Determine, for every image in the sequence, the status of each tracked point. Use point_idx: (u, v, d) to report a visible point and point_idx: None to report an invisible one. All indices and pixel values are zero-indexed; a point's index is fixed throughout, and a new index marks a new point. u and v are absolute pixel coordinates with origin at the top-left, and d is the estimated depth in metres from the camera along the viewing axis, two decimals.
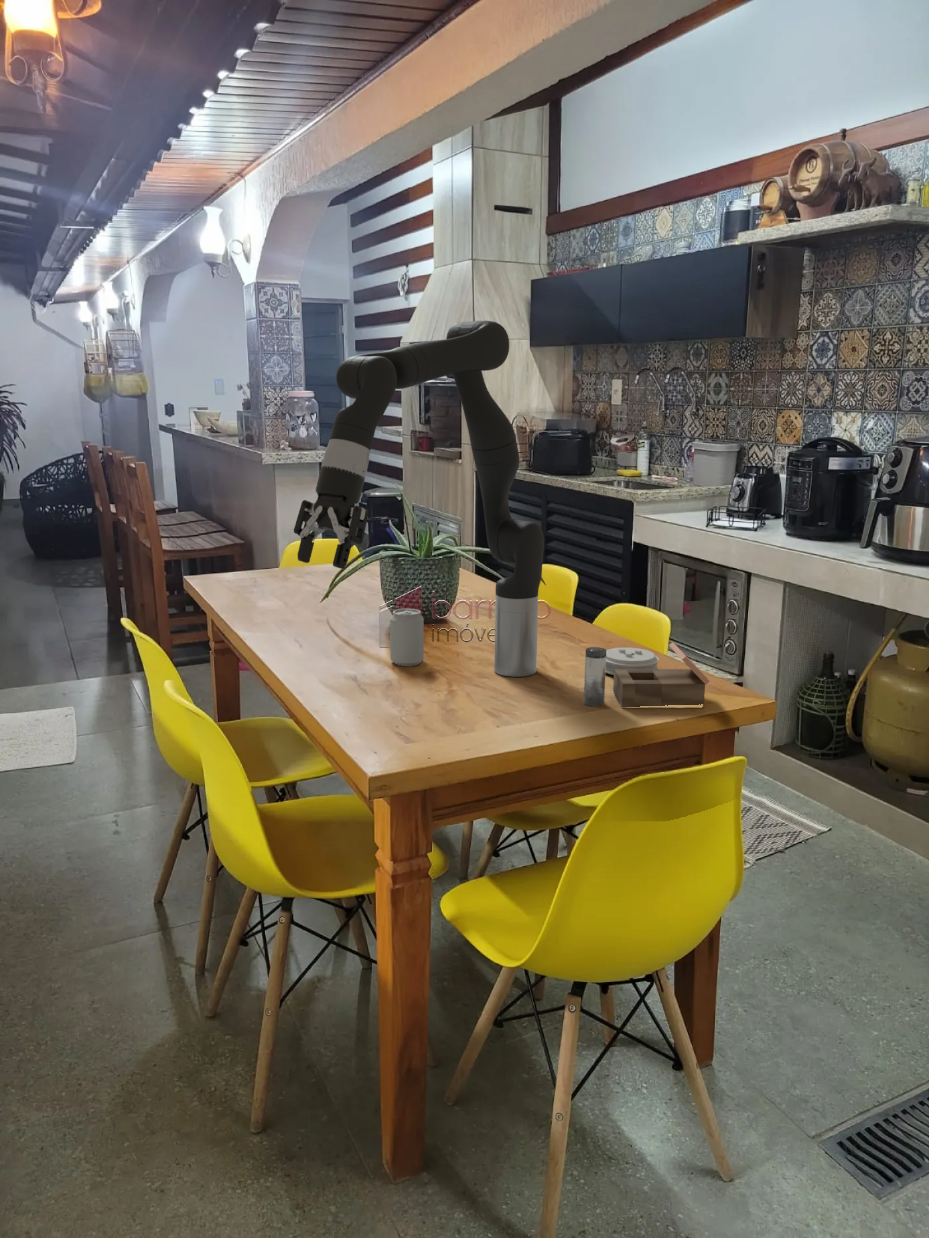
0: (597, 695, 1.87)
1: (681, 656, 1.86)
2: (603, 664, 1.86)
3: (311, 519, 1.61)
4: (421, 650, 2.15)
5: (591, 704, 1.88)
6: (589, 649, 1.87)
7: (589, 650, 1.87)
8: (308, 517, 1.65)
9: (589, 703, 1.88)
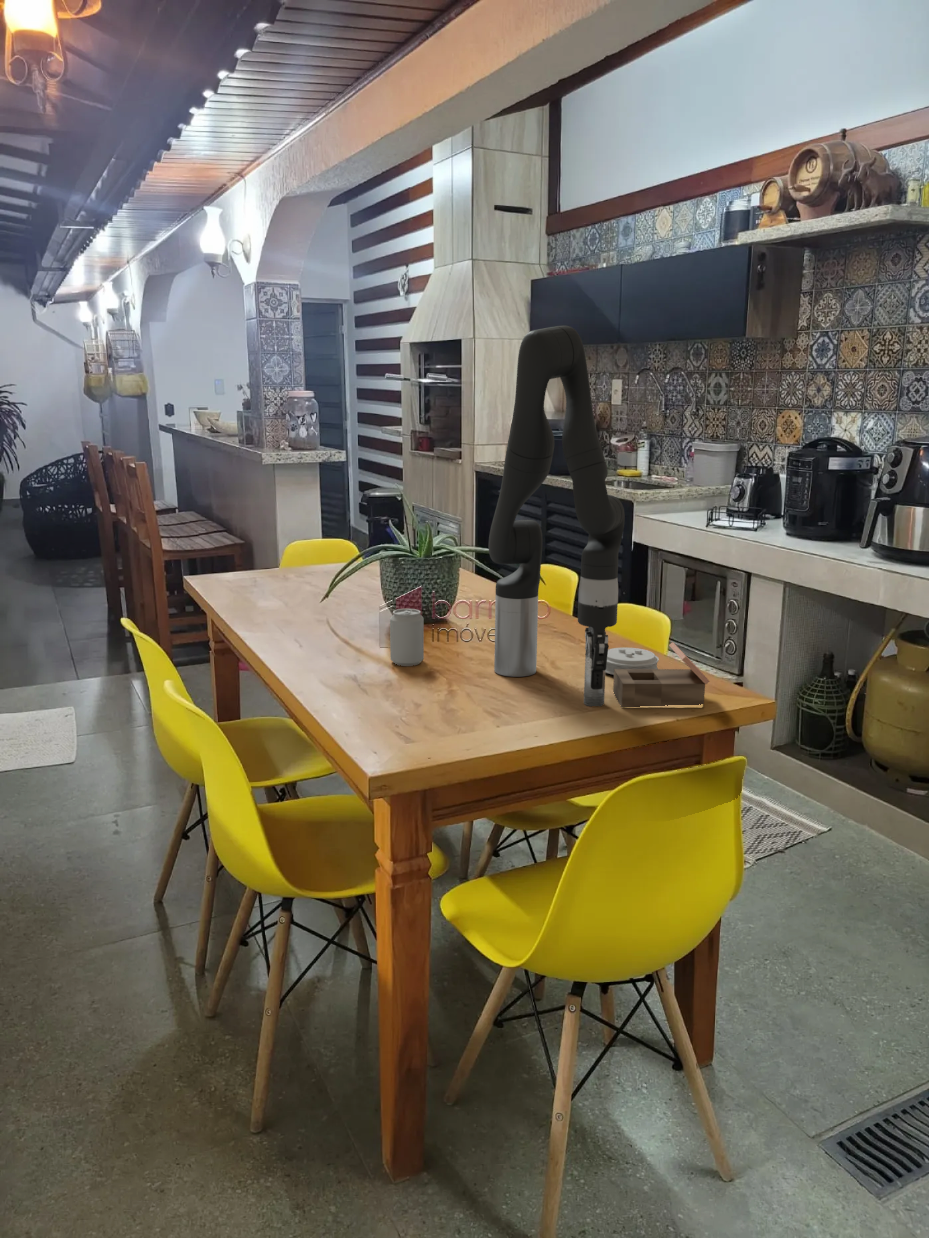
0: (597, 695, 1.87)
1: (681, 656, 1.86)
2: None
3: None
4: (421, 650, 2.15)
5: (591, 704, 1.88)
6: None
7: None
8: None
9: (589, 703, 1.88)
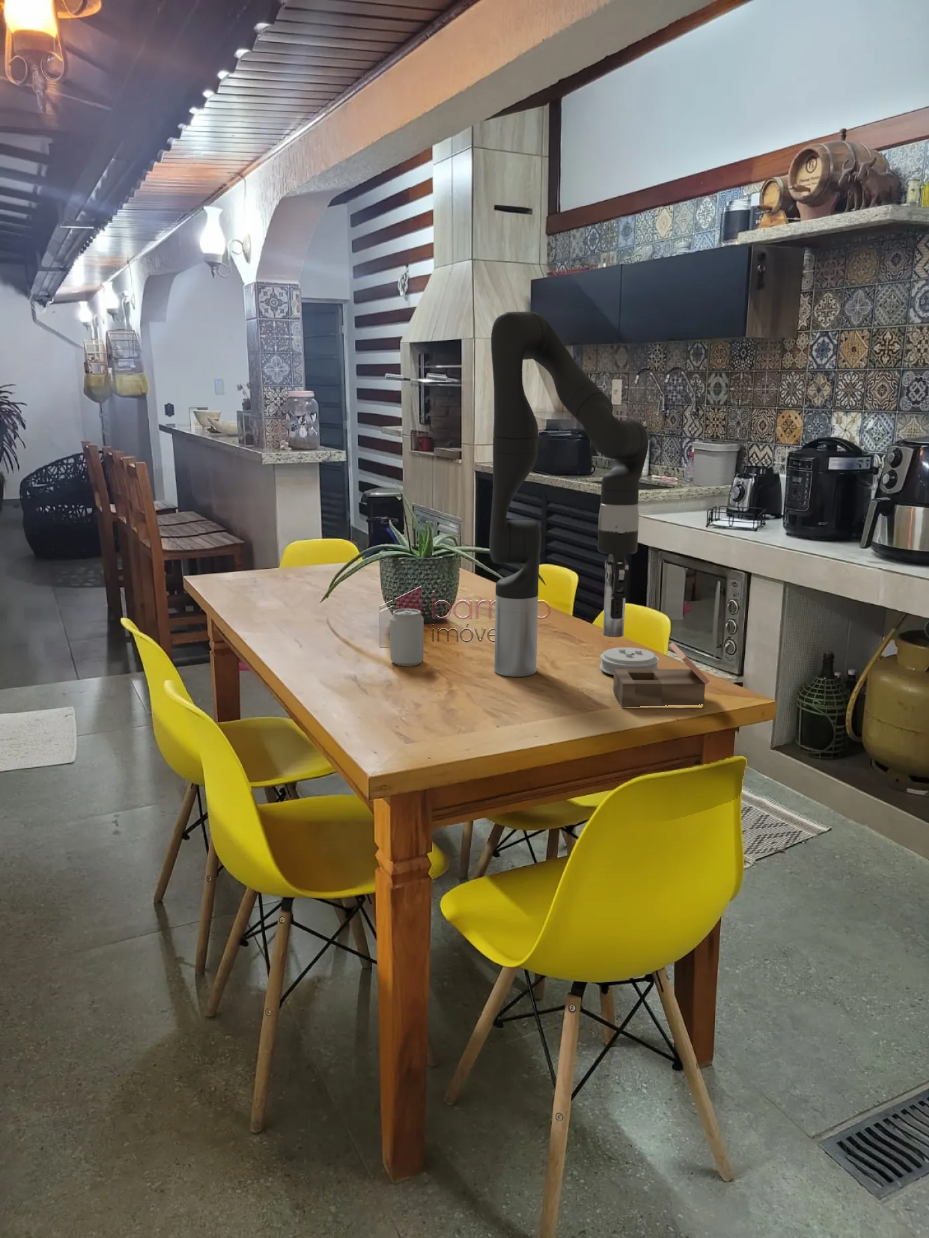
0: (616, 626, 1.84)
1: (681, 656, 1.86)
2: None
3: None
4: (421, 650, 2.15)
5: (610, 635, 1.85)
6: None
7: None
8: None
9: (608, 634, 1.85)
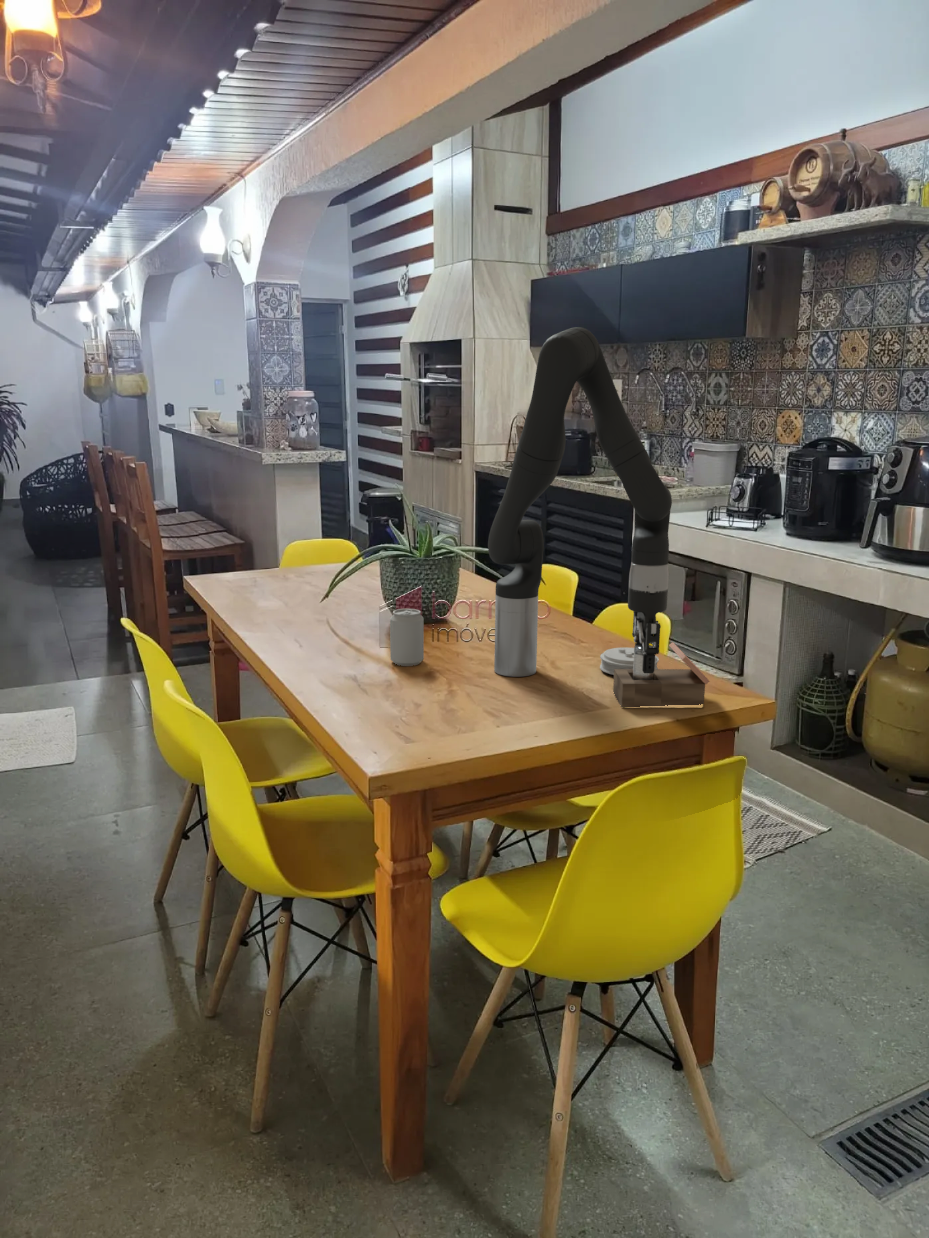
0: None
1: (681, 656, 1.86)
2: None
3: None
4: (421, 650, 2.15)
5: None
6: (638, 646, 1.90)
7: (638, 647, 1.89)
8: None
9: None
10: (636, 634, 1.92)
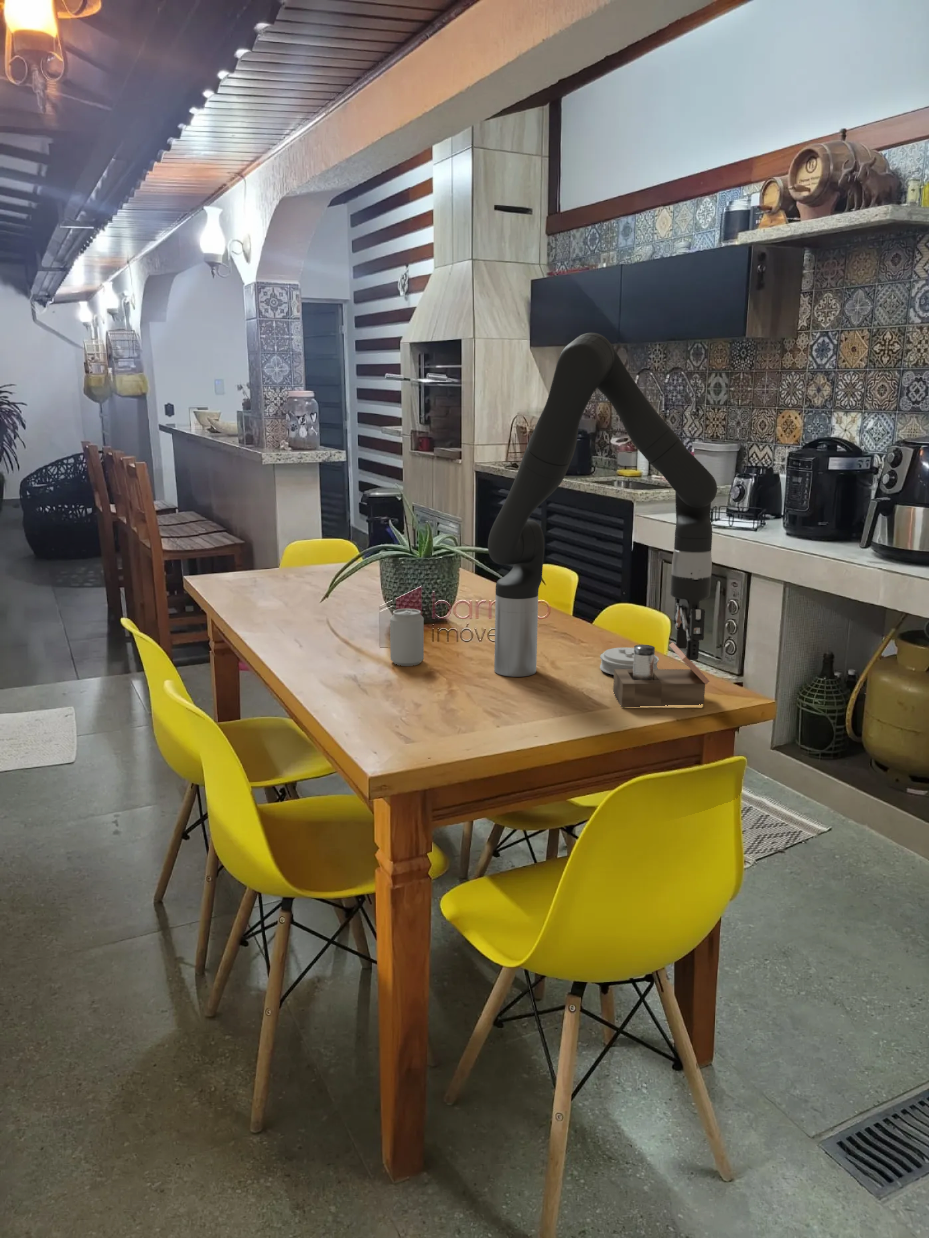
0: None
1: (681, 656, 1.86)
2: (652, 661, 1.89)
3: None
4: (421, 650, 2.15)
5: None
6: (637, 646, 1.90)
7: (638, 647, 1.89)
8: None
9: None
10: (678, 621, 1.91)
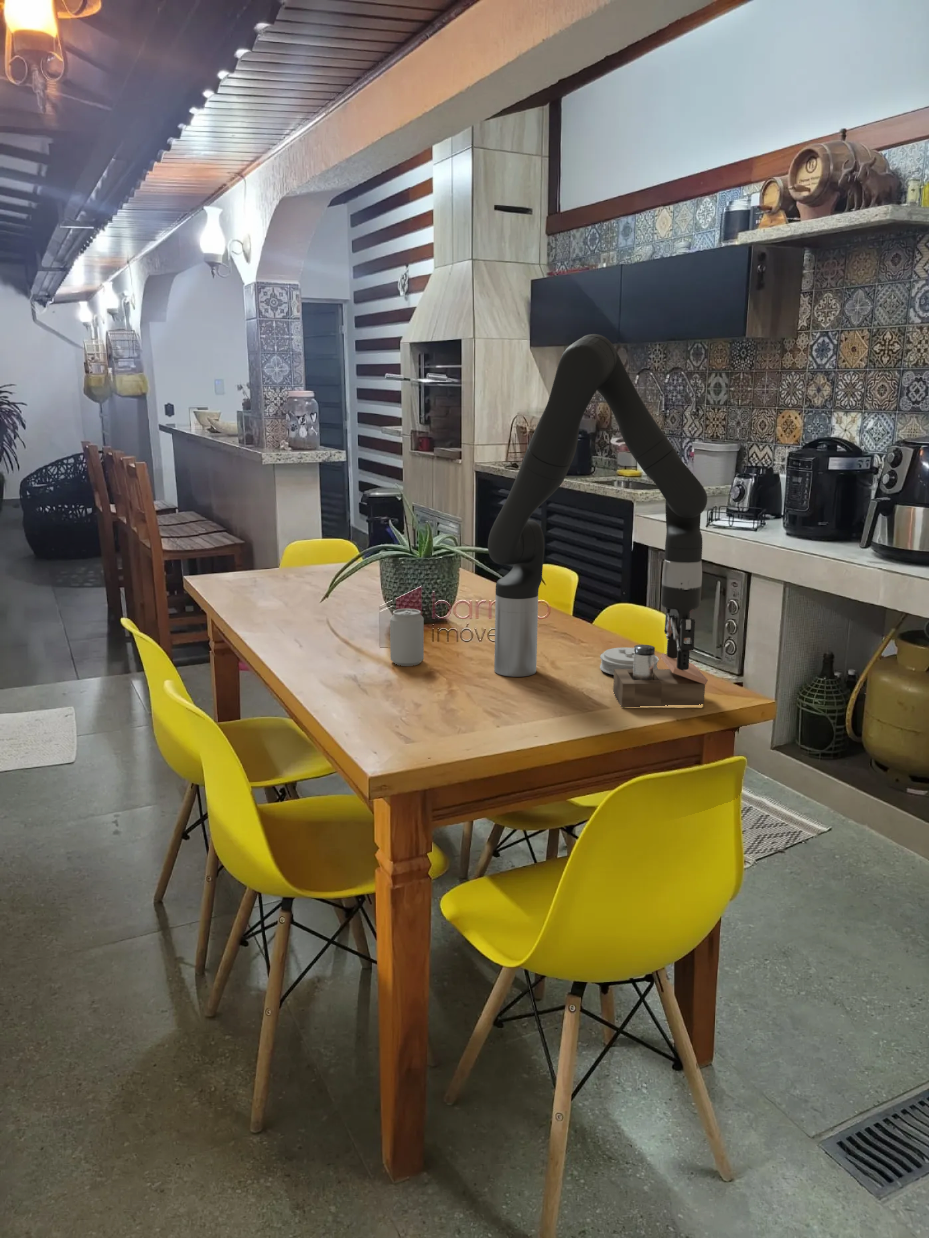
0: None
1: (671, 668, 1.86)
2: (652, 661, 1.89)
3: None
4: (421, 650, 2.15)
5: None
6: (638, 646, 1.90)
7: (638, 647, 1.89)
8: None
9: None
10: (669, 631, 1.92)
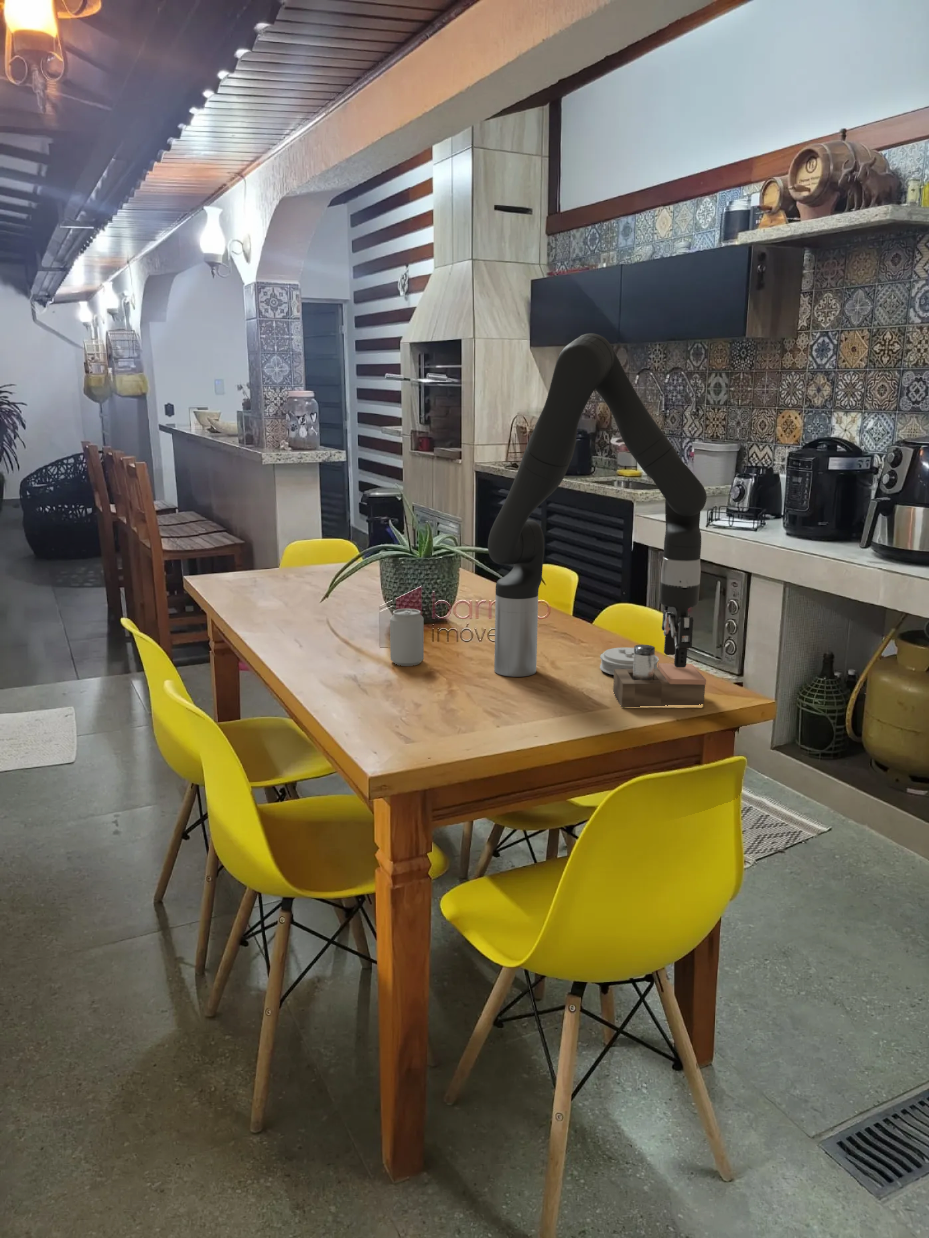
0: None
1: (668, 679, 1.87)
2: (652, 661, 1.89)
3: None
4: (421, 650, 2.15)
5: None
6: (638, 646, 1.90)
7: (638, 647, 1.89)
8: None
9: None
10: (666, 628, 1.92)
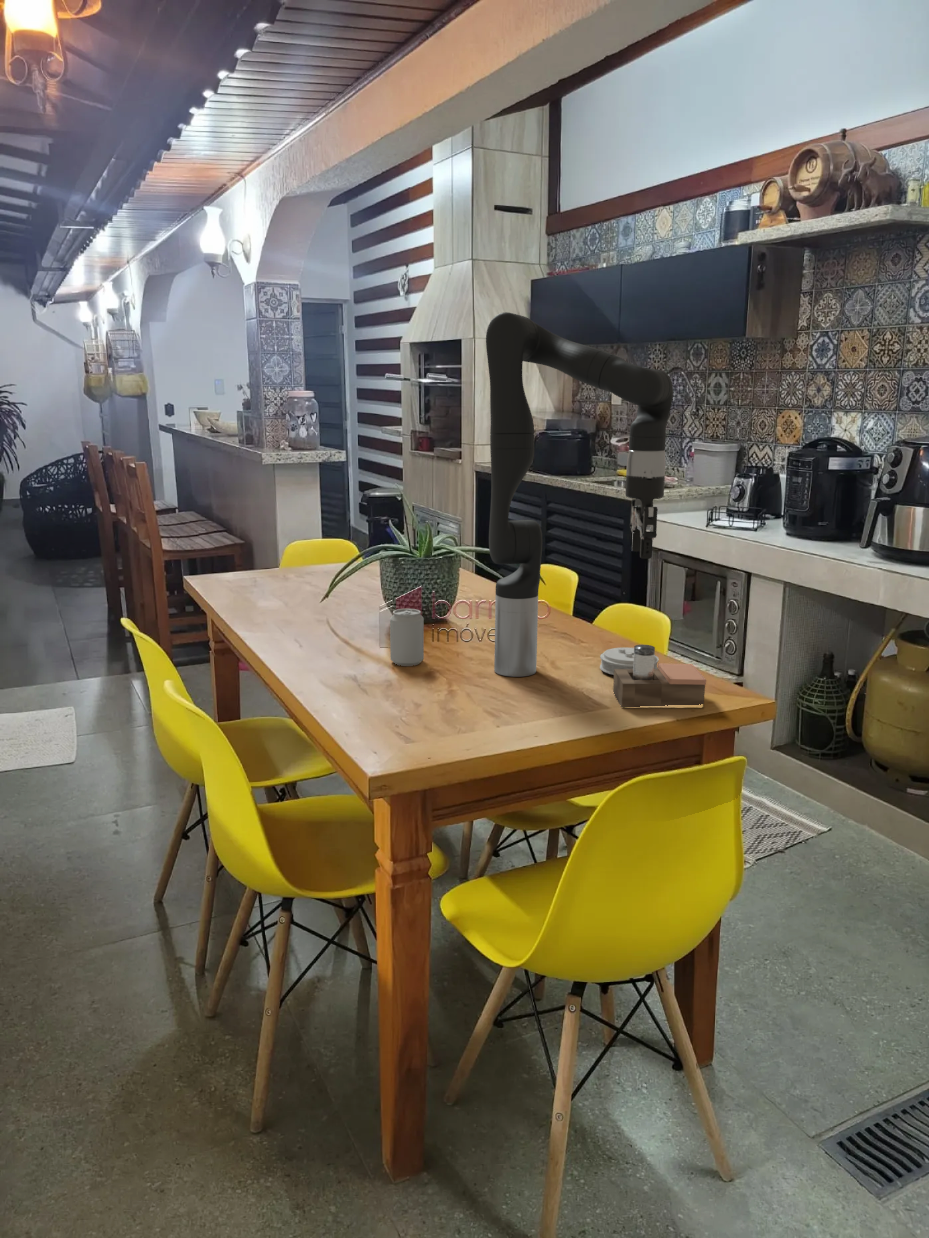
0: None
1: (668, 679, 1.87)
2: (652, 661, 1.89)
3: None
4: (421, 650, 2.15)
5: None
6: (638, 646, 1.90)
7: (638, 647, 1.89)
8: None
9: None
10: (633, 523, 1.95)
